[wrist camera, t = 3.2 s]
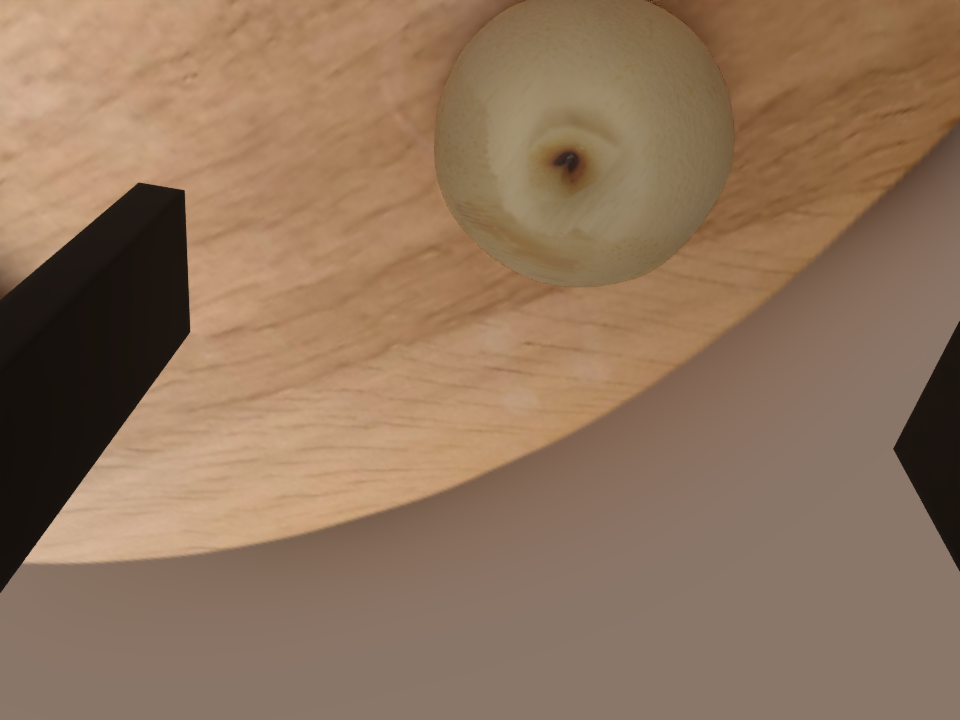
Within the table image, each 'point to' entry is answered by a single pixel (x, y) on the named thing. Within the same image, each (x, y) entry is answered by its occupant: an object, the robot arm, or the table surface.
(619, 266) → the apple
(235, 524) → the table surface
